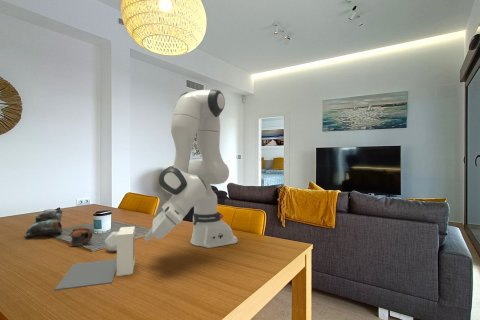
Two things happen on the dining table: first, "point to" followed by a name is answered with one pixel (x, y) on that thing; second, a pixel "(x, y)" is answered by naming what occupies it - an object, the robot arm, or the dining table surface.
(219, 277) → the dining table surface
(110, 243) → the die
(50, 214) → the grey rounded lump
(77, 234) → the pottery mug
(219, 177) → the robot arm
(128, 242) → the cream block
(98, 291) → the dining table surface
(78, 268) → the mat
